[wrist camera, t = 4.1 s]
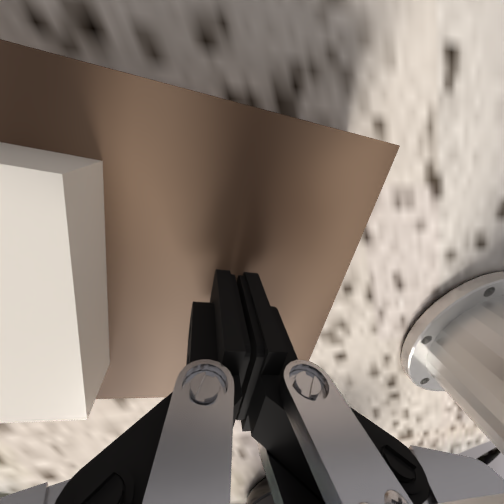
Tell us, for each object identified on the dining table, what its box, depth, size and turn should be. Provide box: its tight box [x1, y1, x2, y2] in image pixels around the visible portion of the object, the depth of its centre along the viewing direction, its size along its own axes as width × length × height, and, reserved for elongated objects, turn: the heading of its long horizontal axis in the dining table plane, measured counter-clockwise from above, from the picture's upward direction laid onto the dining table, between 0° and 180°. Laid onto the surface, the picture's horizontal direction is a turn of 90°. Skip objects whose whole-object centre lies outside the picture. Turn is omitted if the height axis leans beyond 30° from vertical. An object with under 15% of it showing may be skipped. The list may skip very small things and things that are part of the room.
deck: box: [0, 39, 400, 399], centre depth 11 cm, size 22×14×4 cm, turn 77°
